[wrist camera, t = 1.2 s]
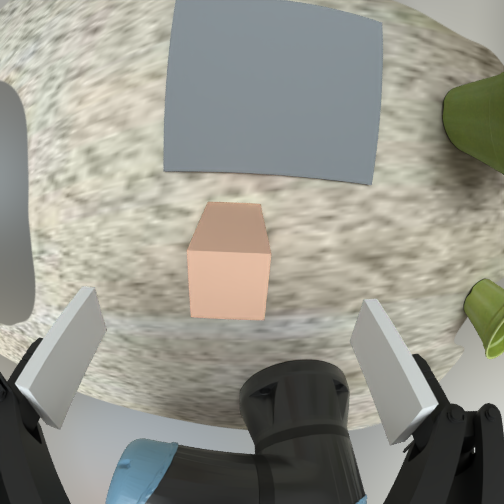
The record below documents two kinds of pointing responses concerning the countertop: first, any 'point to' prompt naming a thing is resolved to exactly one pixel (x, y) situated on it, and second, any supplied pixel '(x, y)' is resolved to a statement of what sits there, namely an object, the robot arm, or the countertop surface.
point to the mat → (273, 90)
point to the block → (229, 263)
